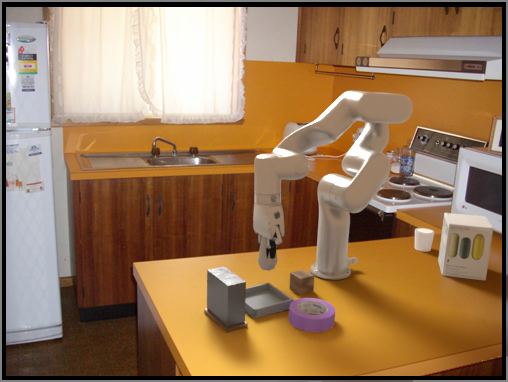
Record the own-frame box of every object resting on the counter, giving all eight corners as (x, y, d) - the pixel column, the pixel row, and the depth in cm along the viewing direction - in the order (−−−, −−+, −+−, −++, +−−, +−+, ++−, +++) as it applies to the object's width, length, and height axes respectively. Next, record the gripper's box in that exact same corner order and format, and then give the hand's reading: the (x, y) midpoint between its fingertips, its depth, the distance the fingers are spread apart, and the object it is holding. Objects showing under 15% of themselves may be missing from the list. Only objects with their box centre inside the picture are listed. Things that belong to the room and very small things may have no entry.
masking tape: (330, 311, 140) (331, 298, 139) (337, 333, 128) (338, 319, 127) (287, 310, 139) (288, 296, 139) (290, 332, 128) (291, 318, 127)
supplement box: (441, 276, 165) (448, 223, 160) (437, 261, 177) (443, 211, 173) (486, 281, 162) (494, 227, 157) (479, 265, 174) (486, 215, 170)
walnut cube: (303, 285, 155) (303, 269, 154) (313, 291, 151) (314, 275, 150) (289, 288, 152) (290, 272, 151) (299, 295, 148) (300, 278, 147)
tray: (268, 290, 150) (268, 282, 150) (293, 307, 140) (293, 299, 140) (230, 299, 144) (231, 291, 143) (254, 318, 134) (254, 309, 133)
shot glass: (434, 248, 189) (436, 229, 188) (429, 253, 184) (432, 234, 182) (415, 244, 193) (417, 226, 191) (410, 249, 187) (412, 231, 186)
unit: (224, 307, 139) (225, 265, 137) (247, 326, 130) (249, 282, 127) (204, 312, 136) (204, 269, 133) (226, 332, 126) (227, 287, 124)
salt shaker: (266, 262, 157) (266, 221, 154) (281, 267, 154) (281, 225, 150) (253, 268, 153) (253, 226, 149) (269, 273, 149) (269, 230, 146)
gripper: (295, 202, 143) (294, 264, 148) (263, 189, 156) (263, 246, 161) (272, 206, 139) (272, 270, 144) (241, 193, 152) (242, 251, 157)
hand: (267, 257), depth 152 cm, fingers closed on salt shaker, 3 cm apart
